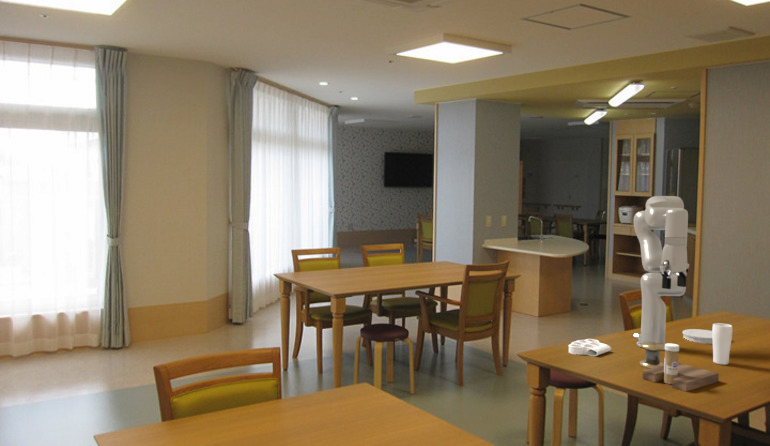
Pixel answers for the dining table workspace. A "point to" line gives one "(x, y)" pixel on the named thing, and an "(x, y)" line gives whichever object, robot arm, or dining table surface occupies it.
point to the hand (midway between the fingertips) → (673, 287)
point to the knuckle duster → (588, 347)
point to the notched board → (683, 377)
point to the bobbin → (652, 354)
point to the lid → (698, 335)
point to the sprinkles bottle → (670, 362)
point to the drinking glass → (721, 342)
